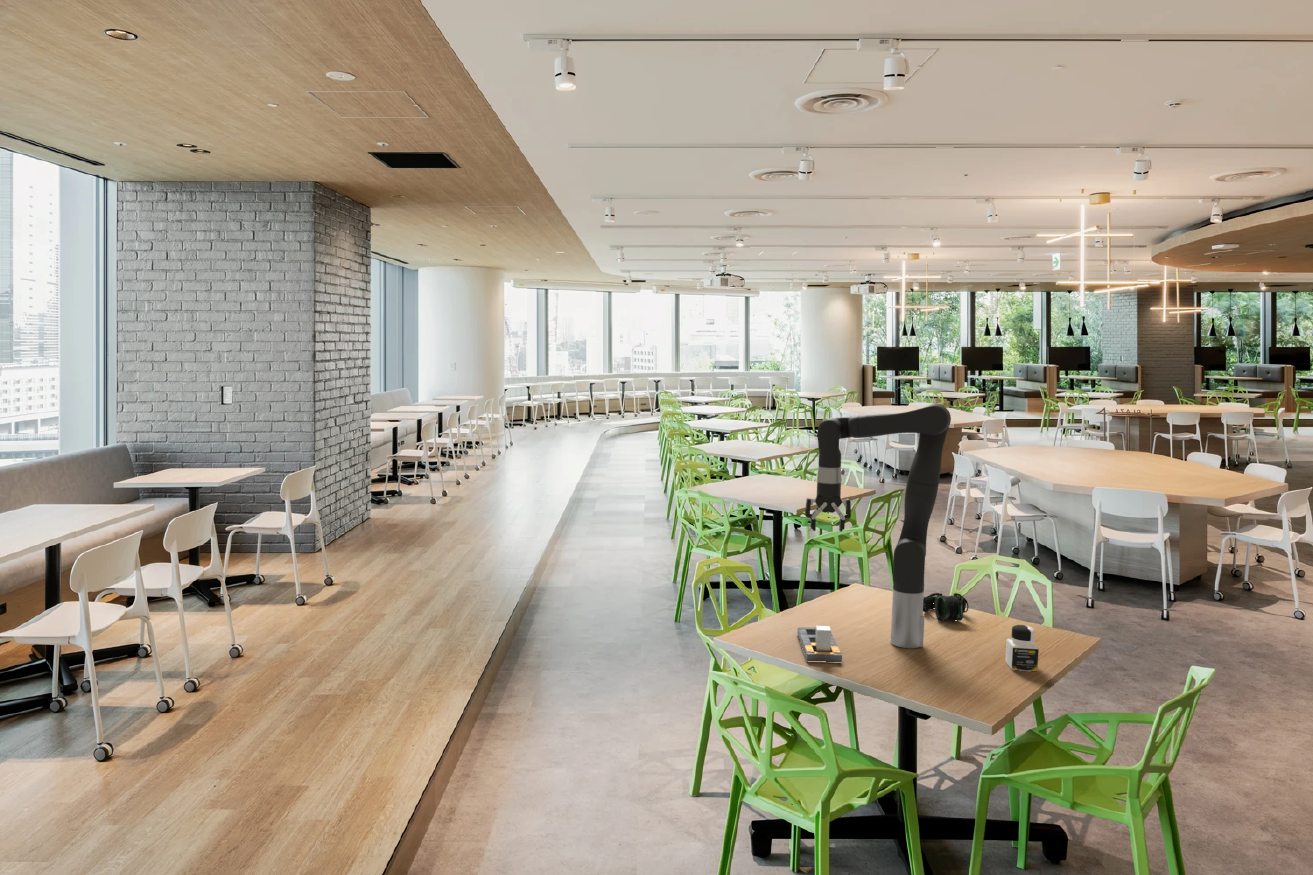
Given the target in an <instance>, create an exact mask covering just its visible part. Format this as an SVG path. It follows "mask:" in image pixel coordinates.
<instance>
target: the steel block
mask: <svg viewBox="0 0 1313 875" xmlns="http://www.w3.org/2000/svg"><path fill="white" fill-rule="evenodd" d="M815 628H816V633H815V652H830V649H831V633H832V629H831V627H830V626H829V625H815Z"/></svg>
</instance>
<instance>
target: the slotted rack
mask: <svg viewBox="0 0 1313 875" xmlns="http://www.w3.org/2000/svg"><path fill="white" fill-rule="evenodd" d="M815 633H816V627H807V626H797V633H796V634H798V635H797V638H798V637H799V638H798V640H799V639H800V641H799V643H800V642H801V644H800V646H802V647H801V649H802V648H803V650H802V652H803V651H804V652H803V654H804V653H805V655H804V657H806V658H805V661H806V660H807V661H826V662H843V654H842V653H841V650H840V649H839V646H838V644H837V642H836V640H835V637H834V635H833V634H832V632H831V649H830V652H815ZM807 661H806V662H807Z"/></svg>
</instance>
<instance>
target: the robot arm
mask: <svg viewBox="0 0 1313 875" xmlns="http://www.w3.org/2000/svg"><path fill="white" fill-rule="evenodd" d="M951 420H952V417H951V412H950V411H949V409H948V408H947V407H946V406H944V405H943V404H940V403H930V404H927V405H926V406H924V407H921V408H916V409H914V410H913V409H911V410H908V411H903V412H894V413H870V414H861V415H860V414H859V415H853V416H849V417H848V416H847V417H846V416H844V417H830V418H826V419H824V420H822V421H821V422H820V423H819V425H818V428H817V445H818V452H819V453H818V469H817V473H816V474H817V477H816V478H817V480H816V495H815V496H816V497H815V498H811V497H807V498H806V500H805V510H804V515H805V517H806V518H808V519H810V529H811V530H812V531H813V532H815V531H817V530H816V527H817V520H816V519H817V517H818V516H819V515H820V514H821V512H822V513H824V514H825V513H832V514H833V513H836V515H838V517H839V518H840V519H839V522H838V523H839V524H838V526H839V528H838V530H839V532H843V530H845V526H846V525H845V523H846V520H847V519H851V518H852V508H851V504H852V503H851V501H852V500H850V499H849V498H846V499H842V498H841V496H842V495H841V492H842V451H841V450H840V440H841V439H849V438H853V439H862V438H873V437H880V436H887V435H895V434H919V436H918V444H917V449H916V452H915V455H914V457H913V460H912V462H911V466H910V468H909V473H908V476H907V480H906V487H905V494H904V520H903V524H902V528H901V533H900V535H899V537H898V541H897V543H896V546H895V548H894V550H893V551H894V552H893V561H892V562H893V563H892V564H893V565H892V603H891V605H892V606H891V623H890V624H891V626H890V643H891V644H892V645H893V646H896V647H898V648H904V649H918V648H924V641H925V640H924V639H925V637H924V636H925V620H926V619H925V618H926V617H925V616H924V614H923V613H924V612H923V599H924V597H925V596H924V595H925V593H924V592H925V569H926V568H925V567H926V556H927V537H928V527H929V522H930V520H931V517H932V513H933V510H934V506H935V504H936V500H937V496H938V490H939V484H940V477H941V470H942V469H941V468H942V457H943V456H942V455H943V448H944V445H945V441H946V438H947V434H948V431H949V428H950V425H951ZM814 503H815V505H817V506H816V507H815V509H814V510H813V512H812V513H811V506H813V505H814ZM842 504H843V506H844V507H845V514H843V513H842V511H841V510H840V506H841V505H842Z"/></svg>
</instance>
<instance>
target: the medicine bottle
mask: <svg viewBox="0 0 1313 875" xmlns="http://www.w3.org/2000/svg"><path fill="white" fill-rule="evenodd" d="M1035 632H1036V631H1035V629H1034V628H1033V627H1031V626H1029V625H1024V624H1016V625H1014V626H1012V627H1011V636H1010V637H1011V638H1007V639H1006V646H1005V647H1006V648H1005V663H1006V665H1007V666H1008V667H1009V669H1010V670H1011V671H1015V670H1019V672H1031V671H1037V672H1038V668H1039V666H1038V664H1039V651H1040V650H1039V647H1038V645H1036V643H1035V634H1036V633H1035Z"/></svg>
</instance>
